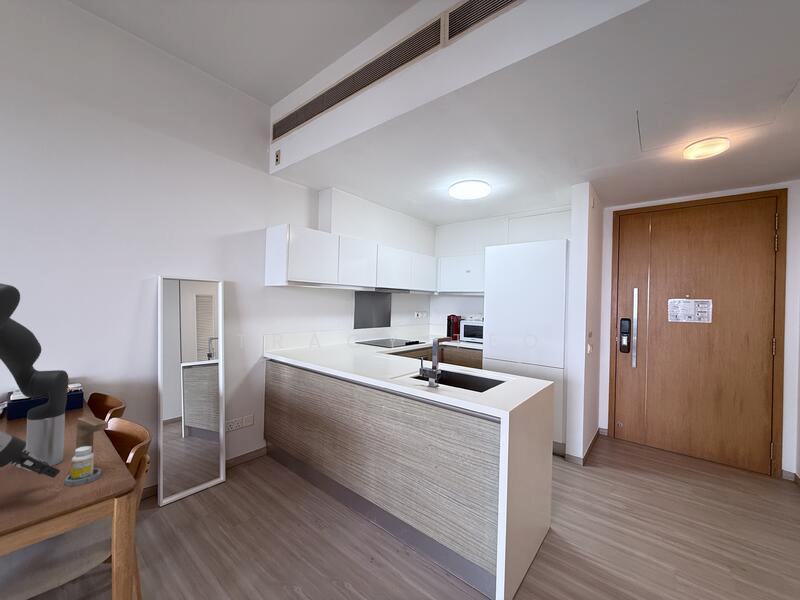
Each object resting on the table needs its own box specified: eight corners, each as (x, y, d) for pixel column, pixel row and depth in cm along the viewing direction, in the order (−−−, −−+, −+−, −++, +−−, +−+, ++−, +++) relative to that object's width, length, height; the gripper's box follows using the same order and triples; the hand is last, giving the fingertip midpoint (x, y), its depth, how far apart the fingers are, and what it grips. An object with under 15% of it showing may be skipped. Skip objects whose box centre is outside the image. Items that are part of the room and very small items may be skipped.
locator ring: (69, 476, 109) (69, 472, 109) (102, 470, 113) (103, 465, 113) (61, 488, 102) (61, 484, 102) (97, 481, 106) (97, 476, 106)
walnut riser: (92, 480, 107) (94, 425, 107) (75, 470, 113) (77, 418, 113) (106, 475, 110) (108, 422, 110) (88, 466, 116) (90, 415, 116)
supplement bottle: (85, 481, 105) (86, 451, 106) (66, 482, 104) (67, 452, 104) (97, 472, 111) (98, 444, 111) (79, 474, 110) (80, 445, 110)
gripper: (19, 439, 90) (73, 463, 100) (1, 429, 96) (53, 453, 106) (-12, 467, 85) (48, 489, 95) (-29, 455, 91) (29, 477, 102)
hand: (51, 470), depth 101 cm, fingers open, 8 cm apart
